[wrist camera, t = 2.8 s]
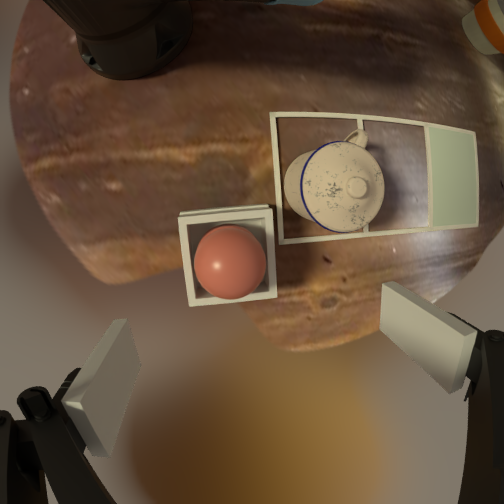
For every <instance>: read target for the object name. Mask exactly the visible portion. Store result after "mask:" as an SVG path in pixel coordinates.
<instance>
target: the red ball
mask: <svg viewBox="0 0 504 504" xmlns="http://www.w3.org/2000/svg"><path fill="white" fill-rule="evenodd" d="M194 269H195V273H196V276H197V279H198V281H199V282H200V284H201V285H202V287H203V288H204V289H205V290H206V291H207V292H209V293H210V294H212V295H214V296H216V297H218V298H221V299H227V300H234V299H239V298H242V297H245V296H247V295H249V294H250V293H252V292H253V291H254V290H255V289H256V288H257V287H258V286H259V284H260V283H261V281H262V279H263V277H264V274H265V269H266V257H265V253H264V251H263V248H262V246H261V245H260V243H259V242H258V240H257V239H256V238H255V236H254V235H253V234H252V233H251V232H250V231H249V230H248V229H246V228H244V227H243V226H240V225H237V224H231V223H228V224H221V225H217V226H215V227H213V228H211V229H210V230H208V231H207V232H206V233H205V234H204V235H203V237H202V238H201V240H200V242H199V244H198V247H197V250H196V254H195V259H194Z"/></svg>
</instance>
